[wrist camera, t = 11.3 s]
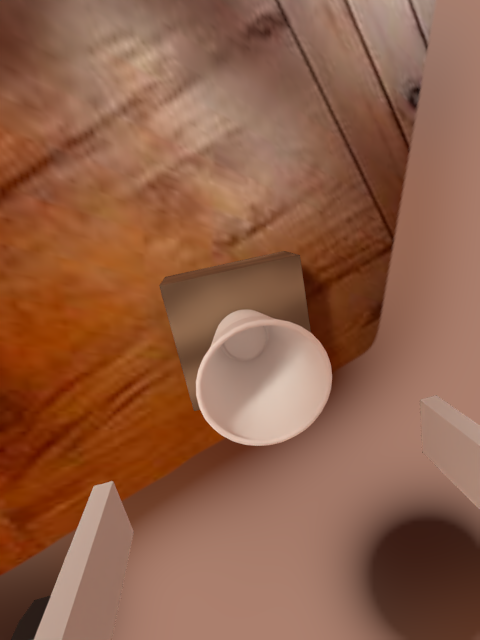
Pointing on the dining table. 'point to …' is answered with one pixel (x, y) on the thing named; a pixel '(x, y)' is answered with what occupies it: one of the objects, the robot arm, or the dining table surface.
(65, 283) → the dining table surface
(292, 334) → the cup
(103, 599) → the robot arm
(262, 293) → the walnut block
